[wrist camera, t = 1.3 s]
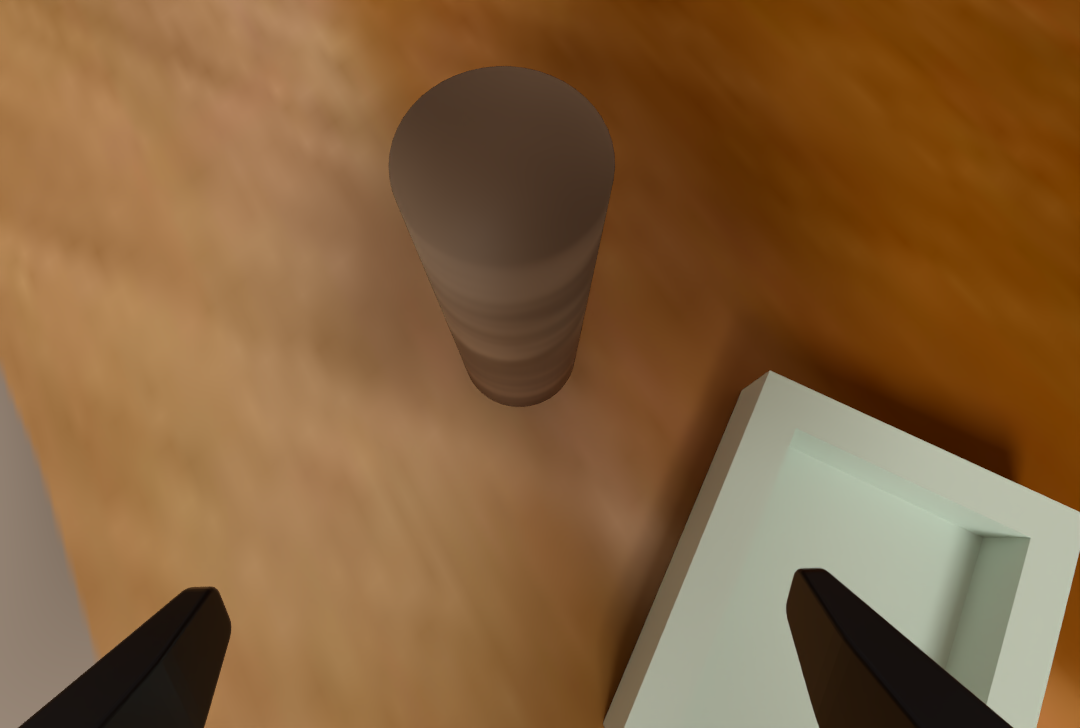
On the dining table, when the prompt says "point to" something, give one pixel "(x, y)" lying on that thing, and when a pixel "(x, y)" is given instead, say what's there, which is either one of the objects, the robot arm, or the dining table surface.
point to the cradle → (846, 567)
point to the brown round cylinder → (506, 219)
